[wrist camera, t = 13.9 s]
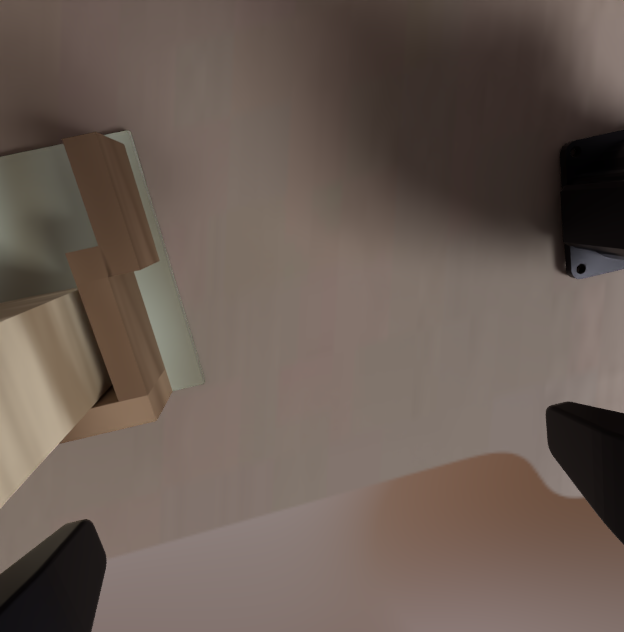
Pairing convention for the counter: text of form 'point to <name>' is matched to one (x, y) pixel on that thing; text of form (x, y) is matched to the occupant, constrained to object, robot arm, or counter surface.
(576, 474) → the robot arm
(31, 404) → the birch post
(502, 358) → the counter surface
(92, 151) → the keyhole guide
